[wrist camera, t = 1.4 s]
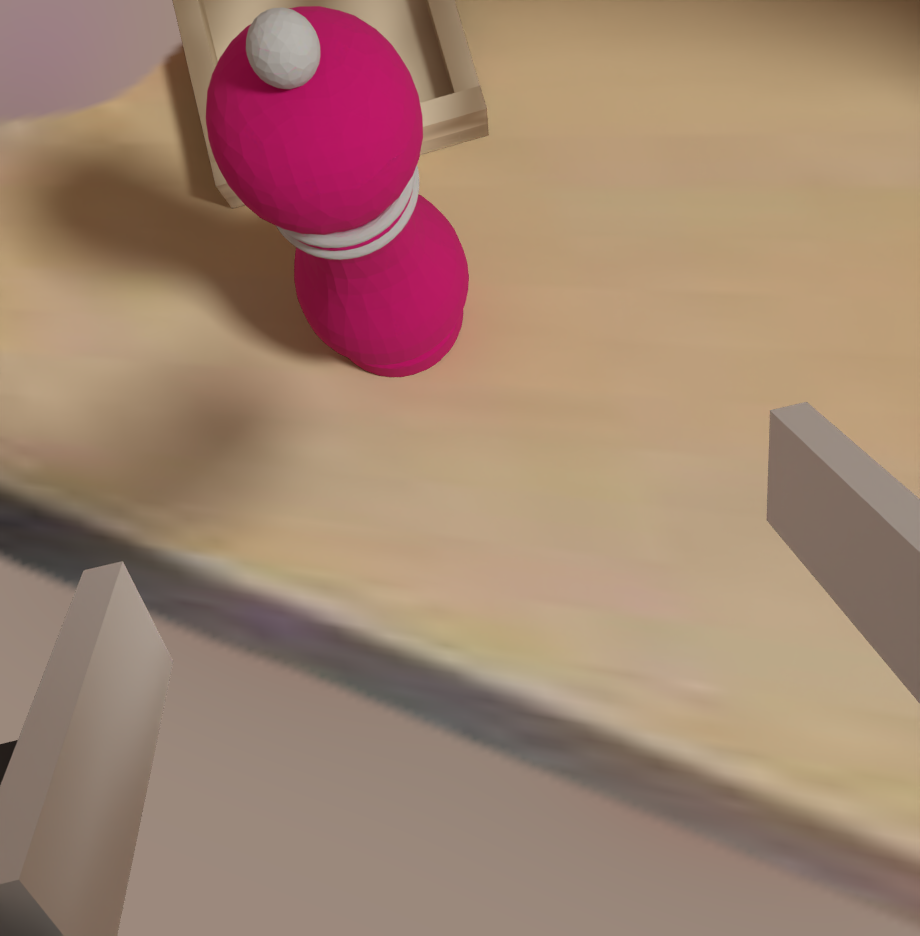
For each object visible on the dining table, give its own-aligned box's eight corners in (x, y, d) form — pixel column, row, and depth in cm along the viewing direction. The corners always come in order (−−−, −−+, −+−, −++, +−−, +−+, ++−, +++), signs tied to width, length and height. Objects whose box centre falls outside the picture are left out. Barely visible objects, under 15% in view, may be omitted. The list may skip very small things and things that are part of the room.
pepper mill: (447, 221, 39) (376, -153, 20) (493, 360, 38) (468, 109, 18) (304, 269, 39) (90, -56, 20) (346, 408, 38) (163, 211, 19)
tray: (421, -91, 42) (416, -128, 40) (488, 135, 40) (486, 108, 38) (178, -20, 42) (160, -53, 40) (231, 208, 40) (215, 186, 38)
